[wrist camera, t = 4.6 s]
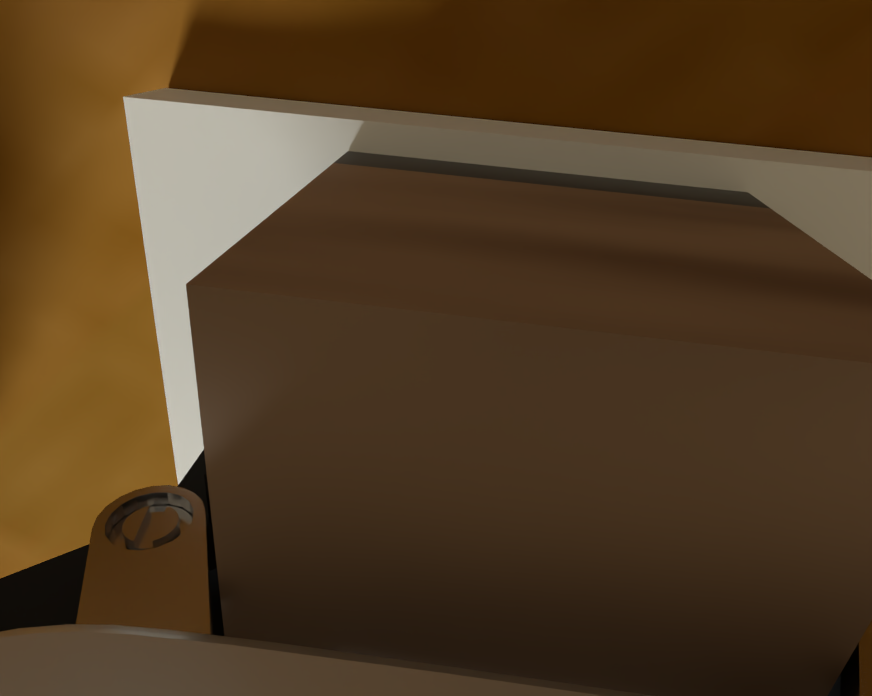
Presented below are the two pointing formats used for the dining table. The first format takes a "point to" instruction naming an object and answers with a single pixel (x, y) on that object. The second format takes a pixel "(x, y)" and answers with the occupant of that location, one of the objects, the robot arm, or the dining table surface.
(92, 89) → the dining table surface
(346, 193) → the block
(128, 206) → the dining table surface
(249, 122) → the board
